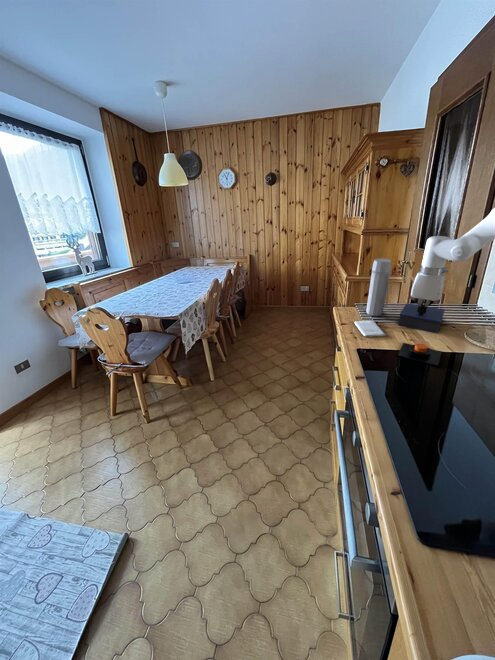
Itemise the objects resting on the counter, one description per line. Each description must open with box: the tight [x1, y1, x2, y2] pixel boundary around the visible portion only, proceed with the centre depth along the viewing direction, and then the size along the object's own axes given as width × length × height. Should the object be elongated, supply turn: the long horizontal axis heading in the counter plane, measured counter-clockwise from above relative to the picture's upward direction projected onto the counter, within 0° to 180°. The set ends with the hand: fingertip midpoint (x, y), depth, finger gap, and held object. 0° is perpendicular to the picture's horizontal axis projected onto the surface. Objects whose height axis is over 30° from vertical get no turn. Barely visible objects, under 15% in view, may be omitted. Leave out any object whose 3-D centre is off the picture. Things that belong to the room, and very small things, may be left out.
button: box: [414, 343, 429, 353], centre depth 97 cm, size 4×4×2 cm
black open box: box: [397, 313, 445, 334], centre depth 120 cm, size 14×15×4 cm
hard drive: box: [354, 320, 386, 338], centre depth 117 cm, size 2×8×12 cm
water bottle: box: [365, 258, 393, 317], centre depth 125 cm, size 9×8×25 cm
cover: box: [398, 303, 446, 324], centre depth 118 cm, size 14×15×1 cm
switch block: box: [397, 342, 442, 368], centre depth 98 cm, size 12×10×3 cm
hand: (421, 314), depth 116 cm, fingers closed
